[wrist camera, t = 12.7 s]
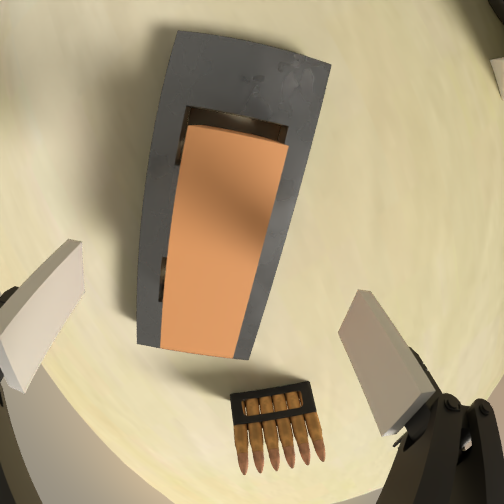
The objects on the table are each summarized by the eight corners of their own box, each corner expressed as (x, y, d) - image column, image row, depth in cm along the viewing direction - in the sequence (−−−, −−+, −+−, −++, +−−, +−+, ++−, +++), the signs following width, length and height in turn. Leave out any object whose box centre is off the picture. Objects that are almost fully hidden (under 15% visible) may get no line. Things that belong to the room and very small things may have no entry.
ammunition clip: (309, 380, 36) (332, 456, 25) (309, 388, 37) (330, 462, 26) (229, 393, 36) (234, 473, 25) (232, 401, 36) (237, 478, 26)
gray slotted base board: (183, 40, 19) (177, 30, 16) (319, 70, 21) (331, 64, 18) (142, 325, 30) (136, 343, 27) (246, 341, 32) (248, 360, 29)
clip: (203, 124, 22) (188, 125, 13) (263, 136, 23) (288, 145, 14) (177, 275, 27) (160, 347, 18) (229, 284, 28) (232, 358, 19)
